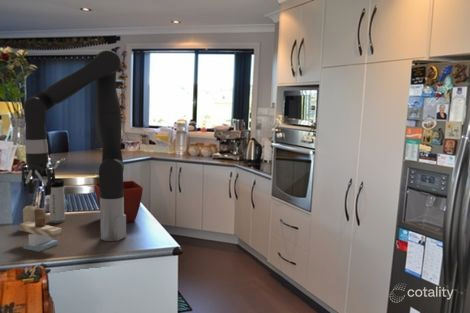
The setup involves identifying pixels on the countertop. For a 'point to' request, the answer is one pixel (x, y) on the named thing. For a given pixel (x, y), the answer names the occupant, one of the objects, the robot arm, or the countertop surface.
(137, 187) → the plant pot
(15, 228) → the countertop surface
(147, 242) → the countertop surface
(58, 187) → the travel mug
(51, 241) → the fulcrum block
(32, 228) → the maple bar
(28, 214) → the candle
